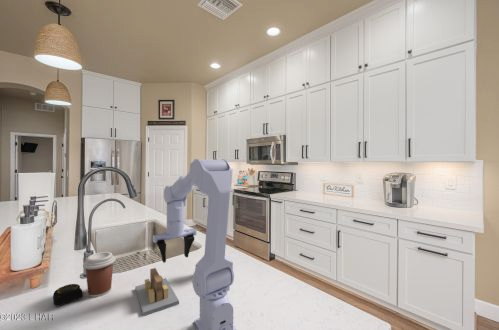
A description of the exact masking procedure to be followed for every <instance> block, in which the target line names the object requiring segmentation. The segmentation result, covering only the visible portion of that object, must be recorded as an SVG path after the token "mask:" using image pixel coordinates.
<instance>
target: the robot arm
mask: <svg viewBox="0 0 499 330" xmlns="http://www.w3.org/2000/svg"><path fill="white" fill-rule="evenodd" d="M232 180H233V167H232V166H231V164H230V163H229V161H228V160H227V159H225V158H223V159H199V158H196V159H195V158H194V159H193V160H192V162H191V163H190V164H189V171H188V173H187V174H186V175H180V176H179V177H178V179H177V180H176V181H175V182H174V183H173V184H172V185H165V187H164V188H163V189H164V190H163V199H164V202H165V203H166V232H162V233H158V234H153V235H152V242H153V243H154V244H155V243H156V245H157V247H158V249H159V252H160V256H161V261H162V262H163V263H166V261H167V256H166V251H167V243H166V241H169V240H173V239H179V238H183V244H184V247H183V249H184V251H183V253H184V257H185V258H188V257H189V254H190V251H191V247H192V245H193V243H194V241H195V236H197V229H195V228H188V229H186V228H185V207H186V202H187V201H186V200H187V199H188V195H190V193H192V191H194V189H195V186H196V187H197V189H198V190H199V192H200V193H202V194H204V195H206V196H207V198H208V200H207V201H208V203H207V215H206V230H205V244H204V255H203V256H202V257H201V258H200V259H199V260H198V261H197V263H196V264H195V269H194V273H193V275H192V278H191V279H192V280H191V282H192V288H193V291H194V293H195V294H196V296H198V297H199V317H197V318H195V319H194V320H193V321H194V322H193V323H194V324H195V326H196V328H197V329H198V330H237V328H236V327H235V325H234V307H233V305H232V303H231V301H230V300H229V297H228V292H229V291H230V287H231V286H232V285H233V284H234V281H235V274H234V273H235V272H234V269H233V268H234V266H233V265H234V262H233V261H232V259H231V258H230V257H228V256H227V255H226V245H227V244H226V243H227V234H228V221H229V209H230V200H231V199H230V197H231V190H232V182H233V181H232Z"/></svg>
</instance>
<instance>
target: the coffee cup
mask: <svg viewBox="0 0 499 330" xmlns="http://www.w3.org/2000/svg"><path fill="white" fill-rule="evenodd" d="M116 259H117V258H116V256H114V255H113V253H112V252H110V251H100V252H95V253H93V254H90V255H88V257H87V258H86V260H85V261H84V262H83V264H82V268H84V269H85V276H86V285H87V295H88V297H90V298H97V297H98V298H99V297H102V296H105V295H107V294H108V293H110V292H111V291H112V281H113V272H114V270H113V269H114V263H115V262H116Z"/></svg>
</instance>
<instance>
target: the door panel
mask: <svg viewBox="0 0 499 330" xmlns="http://www.w3.org/2000/svg"><path fill="white" fill-rule="evenodd" d="M149 272H150V275H149V276H150V278H149V281H150V287H151V289H153V290H154V297H155V299H156V301H157V302H158V301H162V279H161V277H160V276H161V275H160V274H159V272H158V270H157V268H156V267H154V268H150V270H149Z"/></svg>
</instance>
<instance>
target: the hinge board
mask: <svg viewBox="0 0 499 330" xmlns="http://www.w3.org/2000/svg"><path fill="white" fill-rule="evenodd" d="M159 276H160V277H161V279H162V301H158V302H157V301H156V299H155V297H154V290H153V289H151V287H150V278H147V279H144V283H143V284H139V285H136V286H135V292H136V293H135V294H136V296H137V299H138V302H139V303H138V304H139V306H140V309H141V313H142V315H143V317H144V316H147V315H151V314H153V313H156V312H160V311H162V310H163V311H164V310H165V309H168V308H171V307H174V306H177V305H179V304H180V300H179V298H178V296H177V295H176V293H175V291H174V290H173V288H172V286H171V284H170V283H169V281H168V279H167V278H166V277H165V278H163V276H162V275H159Z"/></svg>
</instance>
